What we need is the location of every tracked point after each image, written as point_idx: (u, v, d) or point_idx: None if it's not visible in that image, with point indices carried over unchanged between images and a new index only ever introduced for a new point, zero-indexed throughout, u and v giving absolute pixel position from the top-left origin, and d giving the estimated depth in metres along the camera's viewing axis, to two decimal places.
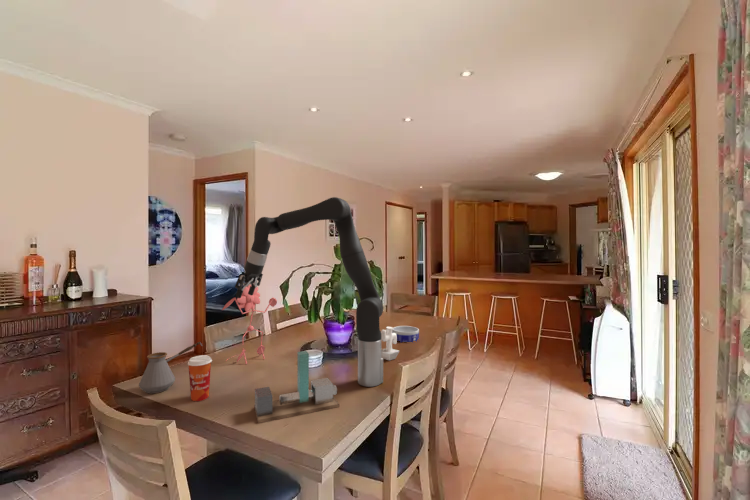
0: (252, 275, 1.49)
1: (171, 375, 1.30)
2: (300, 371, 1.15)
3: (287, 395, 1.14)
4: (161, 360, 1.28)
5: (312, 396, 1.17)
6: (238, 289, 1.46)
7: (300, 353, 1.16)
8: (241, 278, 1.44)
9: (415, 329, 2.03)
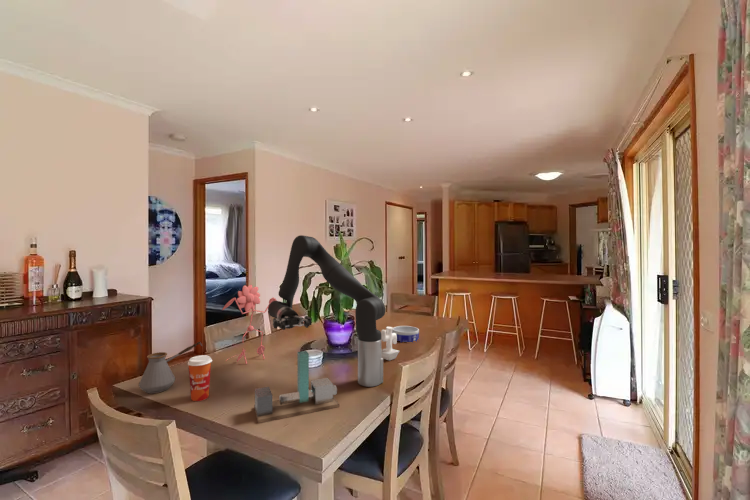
0: None
1: (171, 375, 1.30)
2: (300, 371, 1.15)
3: (287, 395, 1.14)
4: (161, 360, 1.28)
5: (312, 396, 1.17)
6: (279, 325, 1.30)
7: (300, 353, 1.16)
8: None
9: (415, 329, 2.03)
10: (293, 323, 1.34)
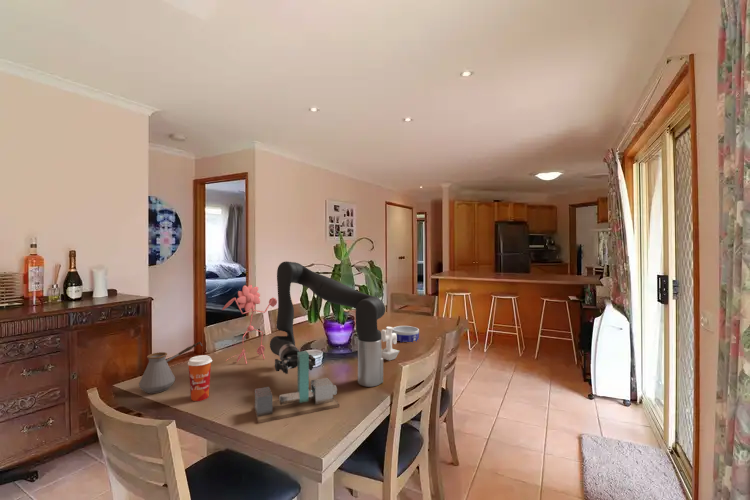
0: None
1: (171, 375, 1.30)
2: (300, 371, 1.15)
3: (287, 395, 1.14)
4: (161, 360, 1.28)
5: (312, 396, 1.17)
6: (281, 368, 1.23)
7: (300, 353, 1.16)
8: None
9: (415, 329, 2.03)
10: (296, 364, 1.28)
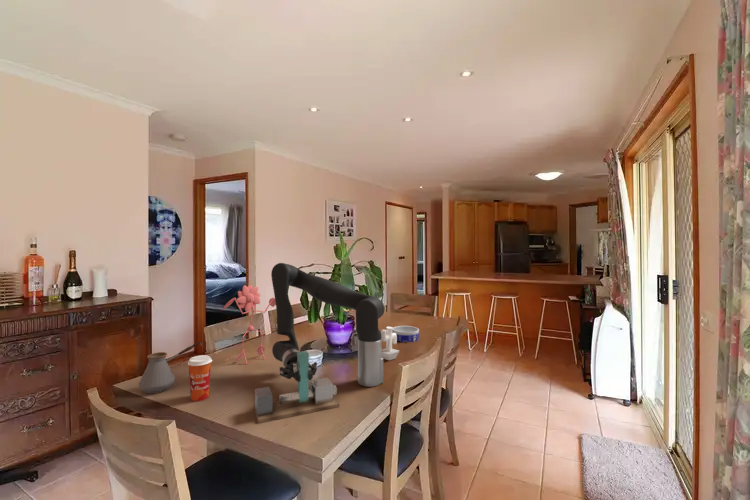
0: None
1: (171, 375, 1.30)
2: (300, 371, 1.15)
3: (287, 395, 1.14)
4: (161, 360, 1.28)
5: (312, 396, 1.17)
6: (293, 376, 1.16)
7: (300, 353, 1.16)
8: (281, 371, 1.19)
9: (415, 329, 2.03)
10: None
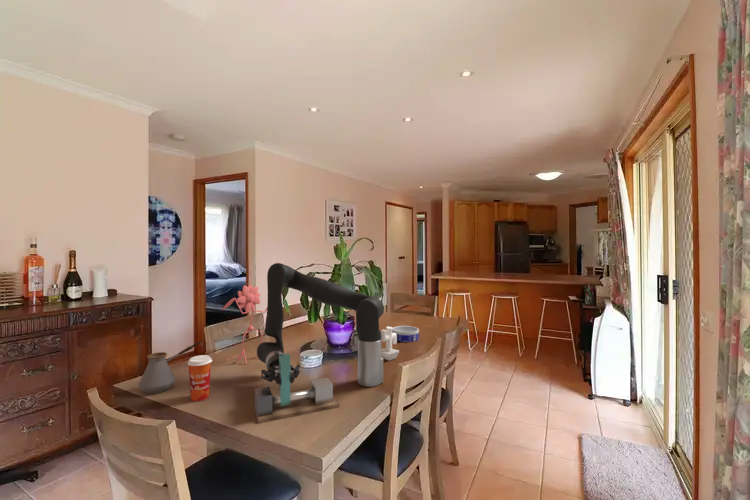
0: None
1: (171, 375, 1.30)
2: (281, 374, 1.12)
3: None
4: (161, 360, 1.28)
5: (294, 399, 1.14)
6: (275, 379, 1.14)
7: (281, 355, 1.13)
8: (262, 373, 1.17)
9: (415, 329, 2.03)
10: None
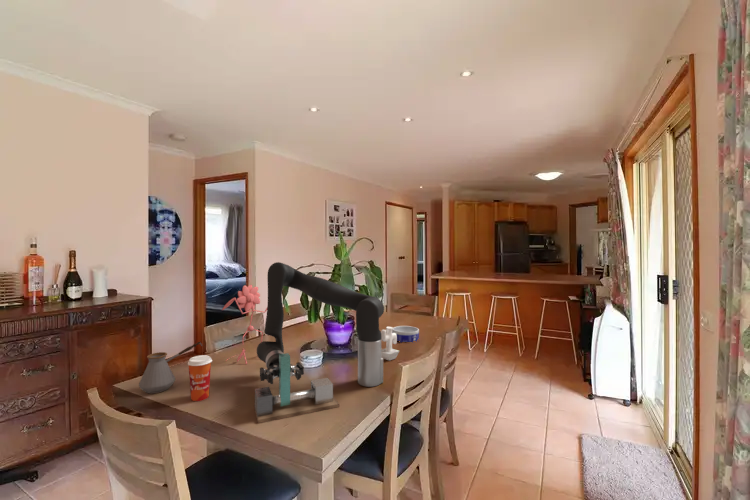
0: None
1: (171, 375, 1.30)
2: (281, 374, 1.12)
3: None
4: (161, 360, 1.28)
5: (294, 399, 1.14)
6: (266, 378, 1.14)
7: (281, 355, 1.13)
8: None
9: (415, 329, 2.03)
10: None
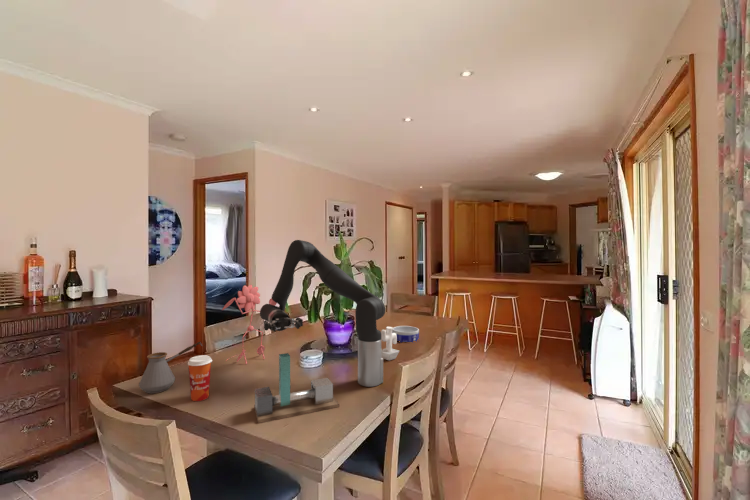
0: None
1: (171, 375, 1.30)
2: (281, 374, 1.12)
3: None
4: (161, 360, 1.28)
5: (294, 399, 1.14)
6: (270, 327, 1.29)
7: (281, 355, 1.13)
8: None
9: (415, 329, 2.03)
10: (284, 325, 1.33)
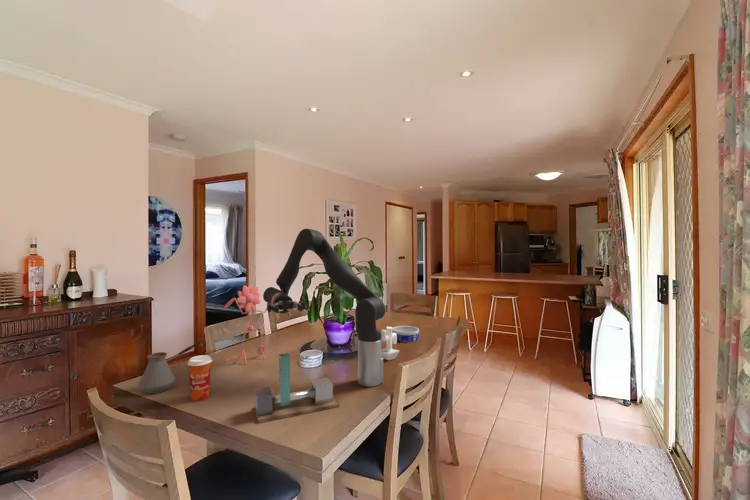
0: None
1: (171, 375, 1.30)
2: (281, 374, 1.12)
3: None
4: (161, 360, 1.28)
5: (294, 399, 1.14)
6: (273, 309, 1.31)
7: (281, 355, 1.13)
8: None
9: (415, 329, 2.03)
10: (287, 307, 1.35)
